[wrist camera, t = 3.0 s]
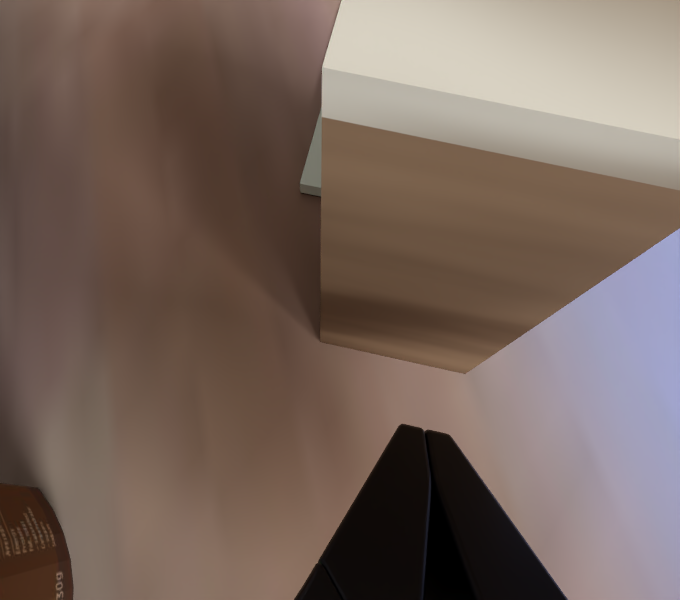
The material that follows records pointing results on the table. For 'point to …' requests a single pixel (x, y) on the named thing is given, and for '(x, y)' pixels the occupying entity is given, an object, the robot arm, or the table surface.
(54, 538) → the food container
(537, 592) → the robot arm
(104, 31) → the table surface
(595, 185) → the walnut block
